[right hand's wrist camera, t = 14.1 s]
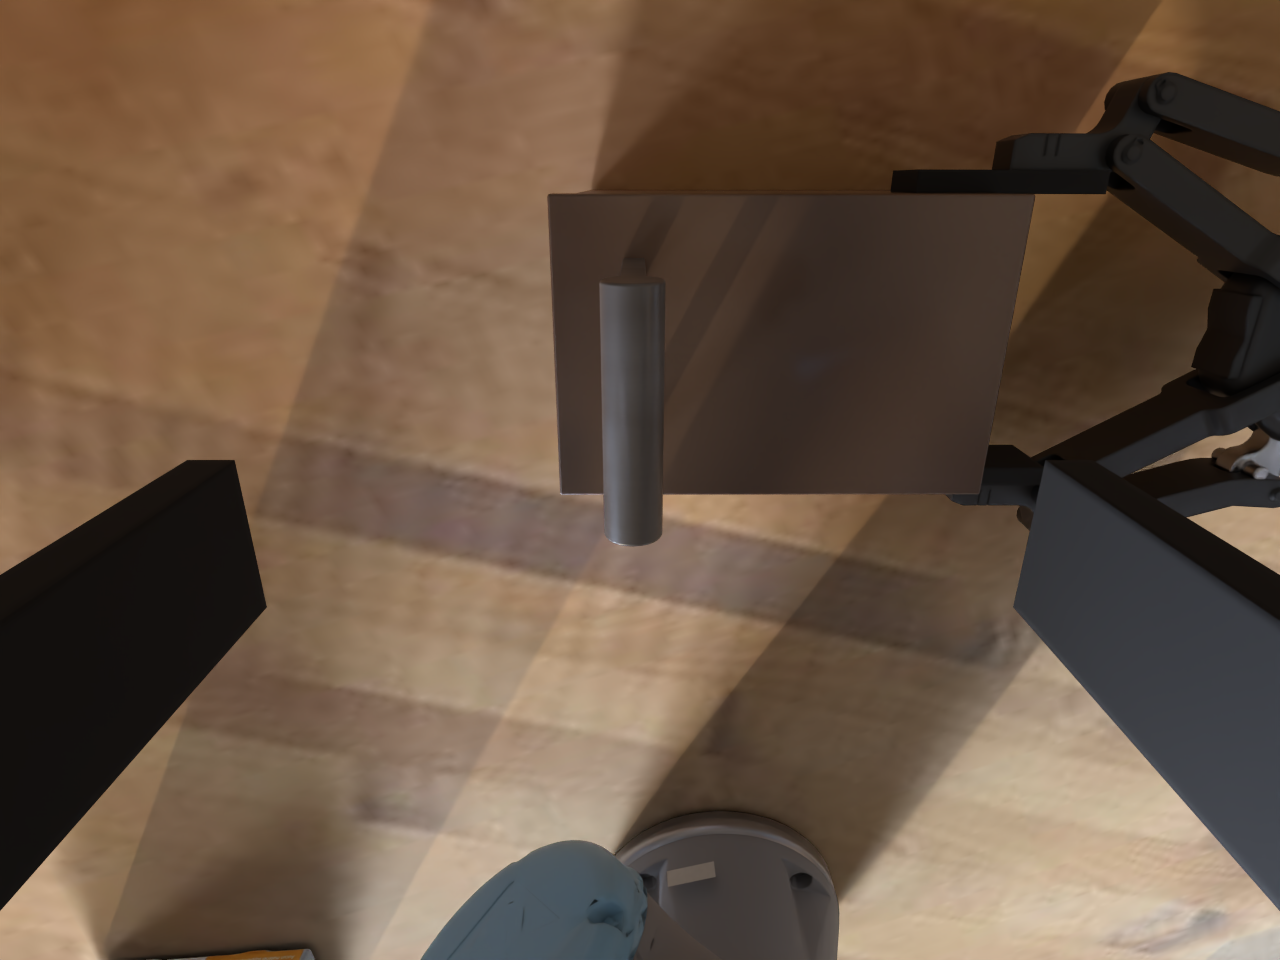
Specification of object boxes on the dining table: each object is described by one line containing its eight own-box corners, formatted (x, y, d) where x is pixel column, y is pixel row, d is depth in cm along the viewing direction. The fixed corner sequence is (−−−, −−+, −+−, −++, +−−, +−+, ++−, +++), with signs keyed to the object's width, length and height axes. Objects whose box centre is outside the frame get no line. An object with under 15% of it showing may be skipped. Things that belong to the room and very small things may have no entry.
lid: (563, 483, 28) (532, 606, 20) (550, 193, 24) (507, 199, 16) (966, 482, 28) (1100, 605, 20) (1018, 193, 24) (1210, 200, 16)
